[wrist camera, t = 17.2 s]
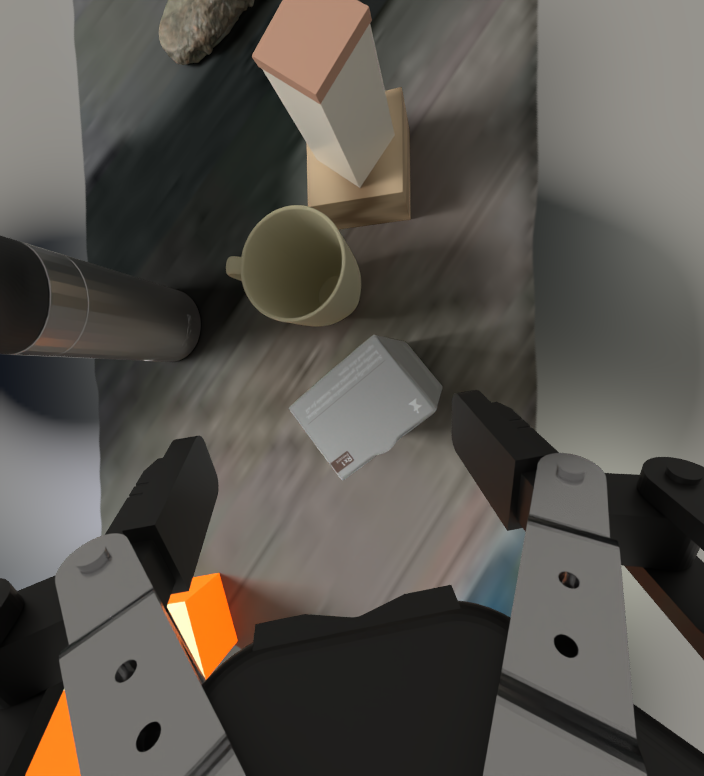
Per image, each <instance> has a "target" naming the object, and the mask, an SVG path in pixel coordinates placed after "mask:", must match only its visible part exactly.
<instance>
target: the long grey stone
mask: <svg viewBox="0 0 704 776" xmlns="http://www.w3.org/2000/svg"><path fill="white" fill-rule="evenodd" d="M253 4H254V0H168V2H167V4H166V7H165V10H164V14H163V16H162V19H161V22H160V25H159V39H160V43H161V45H162V47H163V49H164V50H165V51H166V52H167V54H168V56H169V57H171V58H172V59H173V60H174V61H175V62H176V63H177V64H182V65H185V64H190V63H199V62H200V60H202V59H203V58H204V56H206V55H207V54H208V55H209V54H211V52H212V50H213V48H214V47H215V46H216V45H217V44H218V43H220V42H221V40H222V39H223V38H224V37H225V36H226V35H228V34H229V33H230V30H231V29H232V27H233V26H234V24H235V22H236V21H237V20H238V19H239V16H240V15H241V14H242V12H243V11H245V10H247V7H252V6H253Z"/></svg>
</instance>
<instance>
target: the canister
mask: <svg viewBox="0 0 704 776" xmlns="http://www.w3.org/2000/svg"><path fill="white" fill-rule="evenodd" d="M371 21H372V19H371V14H370V10H369V6H367V5H365V4H363V3H361V2H359V1H357V0H283V1H282V3H281V4H280V6H279V8H278V10H277V12H276V13H275V15H274V17H273V19H272V21H271V22H270V24H269V26H268V28H267V30H266V31H265V33H264V35H263V37H262V38H261V40H260V42H259V44H258V46H257V47H256V49H255V51H254V53H253V55H252V57H253V59H254V60H255V62H256V63H257V65H258V67H260V68H262V69H263V71H264V73H265V74H266V76H267V78H268V79H269V81H270V83H271V84H272V86H273V88H274V89H275V91H276V93H277V94H278V96H279V98H280V99H281V101H282V103H283V104H284V106H285V107H286V109H287V111H288V112H289V114H290V116H291V117H292V119H293V121H294V122H295V124H296V126H297V127H298V129H299V131H300V132H301V134H302V136H303V137H304V139H305V141H306V142H307V144H308V146H309V147H310V149H311V151H312V152H313V154H314V156H315V157H316V159H317V160H318V161H320V162H321V163H323V164H324V165H326V166H327V167H329V168H330V169H332V170H333V171H335V172H336V173H338V174H339V175H341V176H342V177H344V178H345V179H347V180H349V181H350V182H352V183H353V184H355V185H356V186H358V187H359V188H360V187H361V186H362V184H363V183H364V181H365V180H366V178H367V177H368V175H369V174H370V172H371V171H372V169H373V168H374V166H375V165H376V163H377V161H378V160H379V158H380V157H381V155H382V154H383V152H384V151H385V149H386V148H387V146H388V145H389V143H390V142H391V140H392V139H393V137H394V136H395V134H394V130H393V125H392V121H391V116H390V112H389V107H388V103H387V98H386V94H385V89H384V85H383V80H382V75H381V71H380V66H379V62H378V57H377V53H376V48H375V44H374V39H373V35H372V30H371V26H370V22H371Z"/></svg>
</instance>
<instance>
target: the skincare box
mask: <svg viewBox="0 0 704 776" xmlns="http://www.w3.org/2000/svg"><path fill="white" fill-rule="evenodd" d="M442 388H443V387H442V385H441V384H440V383H439V382H438V380H437V379H436V378H435V377H434V375H433V374H432V373H431V372H430V371H429V369H428V368H427V367H426V366H425V365H424V363H423V362H422V361H421V360H420V359H419V357H418V356H417V355H416V354H415V352H414V351H413V350H412V349H411V348H410V346H409V345H408V344H407V343H406V342H404V341H400V340H395V339H391V338H387V337H382V336H378V335H372V336H371V337H370V338H369V339H367V340H366V341H365V342H364V343H363V344H361V345H360V346H359V347H358V348H357V349H355V350H354V351H353V352H352V353H351V354H350V355H348V356H347V357H346V358H345V359H344V360H342V361H341V362H340V363H339V364H338V365H337V366H335V367H334V368H333V369H332V370H331V371H329V372H328V373H327V374H326V375H325V376H324V377H323V378H321V379H320V380H319V381H318V382H317V383H316V384H315V385H313V386H312V387H311V388H310V389H309V390H308V391H307V392H306V393H304V394H303V395H302V396H301V397H300V398H299V399H298V400H297V401H295V402H294V403H293V404H292V405H291V406H290V407H289V410H290V411H291V413H292V414H293V415H294V416H295V418H296V419H297V421H298V422H299V423H300V425H301V426H302V427H303V429H304V430H305V432H306V433H307V434H308V436H309V437H310V438H311V440H312V441H313V442H314V444H315V445H316V446H317V448H318V449H319V451H320V452H321V453H322V455H323V456H324V457H325V459H326V460H327V461H328V463H329V464H330V465H331V467H332V468H333V469H334V471H335V472H336V473H337V475H338V476H339V477H340V479H341V480H345V479H346V478H348V477H349V476H350V475H351V474H353V473H354V472H355V471H357V470H358V469H359V468H361V467H362V466H363V465H365V464H366V463H367V462H369V461H370V460H371V459H373V458H374V457H375V456H377V455H380V454H383V453H385V452H387V451H388V450H390V449H391V448H392V447H393V446H394V445H395V443H396V441H397V440H399V439H400V438H401V437H403V436H404V435H405V434H407V433H408V432H409V431H411V430H412V429H414V428H415V427H416V426H418V425H419V424H420V423H421V422H423V421H424V420H425V419H427V418H428V417H430V416H431V415H432V414H434V413H435V411H436V409H437V405H438V402H439V398H440V395H441V391H442Z"/></svg>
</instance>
